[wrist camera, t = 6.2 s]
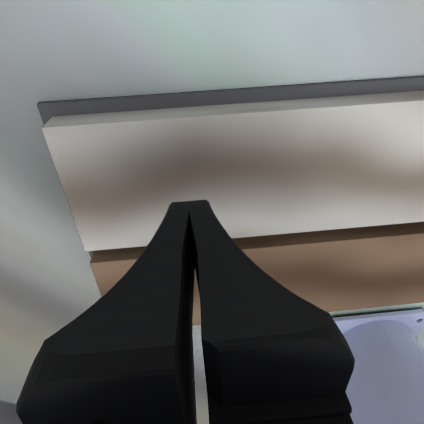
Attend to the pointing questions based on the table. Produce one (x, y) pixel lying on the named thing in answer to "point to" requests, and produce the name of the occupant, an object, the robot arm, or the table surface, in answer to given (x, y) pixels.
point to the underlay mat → (228, 97)
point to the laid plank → (317, 265)
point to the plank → (244, 166)
